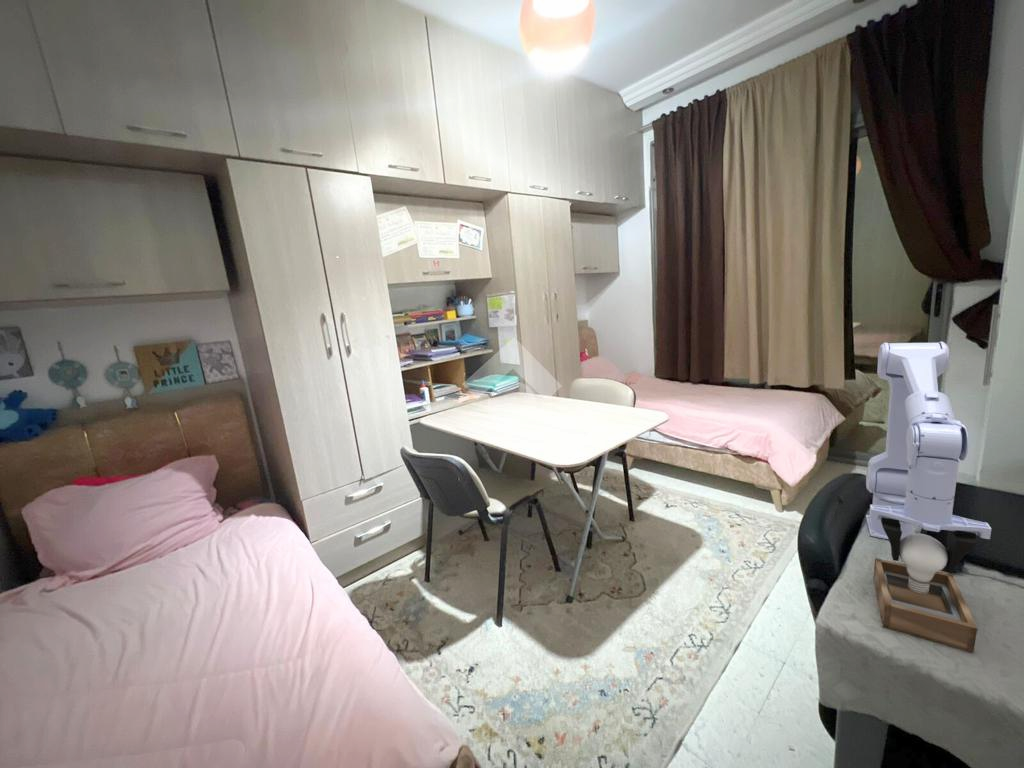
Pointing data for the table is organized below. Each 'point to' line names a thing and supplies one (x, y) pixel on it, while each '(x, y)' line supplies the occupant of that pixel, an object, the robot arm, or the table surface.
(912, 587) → the lightbulb
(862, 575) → the table surface
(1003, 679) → the table surface
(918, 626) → the socket box
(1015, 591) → the table surface
